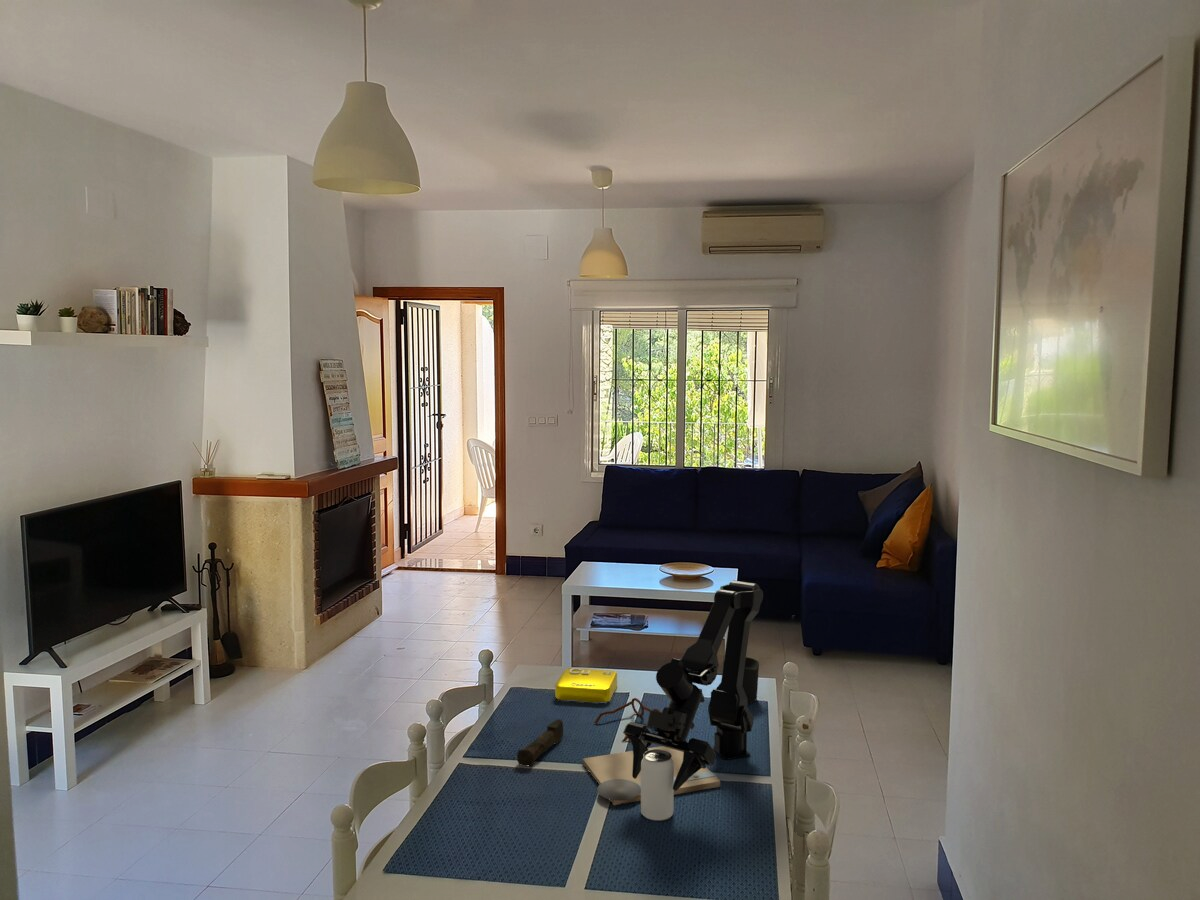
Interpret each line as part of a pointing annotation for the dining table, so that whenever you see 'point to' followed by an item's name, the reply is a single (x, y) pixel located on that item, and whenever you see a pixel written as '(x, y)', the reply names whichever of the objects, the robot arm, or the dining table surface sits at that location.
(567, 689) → the element tile
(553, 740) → the hand tool
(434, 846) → the dining table surface
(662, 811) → the can
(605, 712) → the glasses
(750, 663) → the pen holder
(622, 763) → the subfloor panel
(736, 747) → the robot arm
